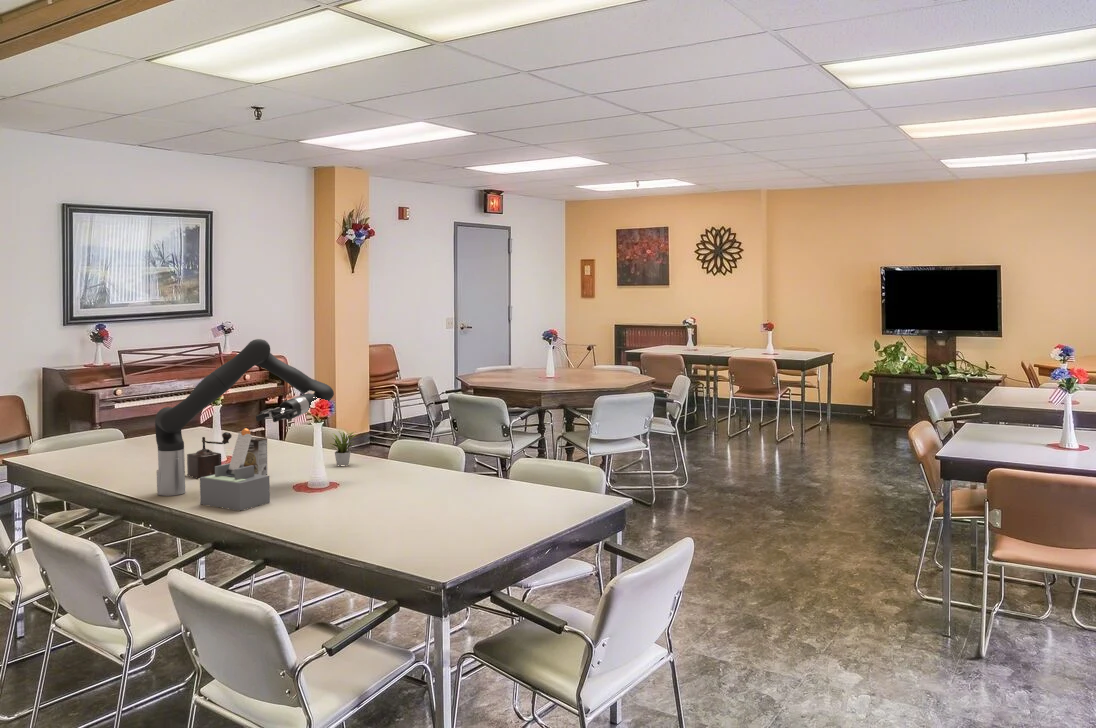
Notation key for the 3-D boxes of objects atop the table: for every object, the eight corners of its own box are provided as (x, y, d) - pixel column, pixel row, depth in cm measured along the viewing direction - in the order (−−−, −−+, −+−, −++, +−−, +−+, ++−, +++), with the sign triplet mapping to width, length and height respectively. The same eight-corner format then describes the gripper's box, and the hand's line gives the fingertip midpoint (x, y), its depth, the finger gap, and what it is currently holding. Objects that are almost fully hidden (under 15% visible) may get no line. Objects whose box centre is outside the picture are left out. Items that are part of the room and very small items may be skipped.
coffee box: (240, 476, 344) (239, 438, 343) (250, 473, 350) (249, 436, 349) (258, 477, 341) (257, 439, 340) (268, 474, 347) (267, 437, 346)
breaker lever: (236, 475, 294) (249, 428, 298) (224, 474, 296) (237, 426, 301) (242, 477, 296) (255, 430, 301) (231, 475, 299) (244, 429, 304)
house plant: (366, 462, 374) (365, 427, 373) (356, 468, 360) (355, 432, 359) (336, 461, 375) (335, 426, 374) (325, 467, 362) (324, 431, 360)
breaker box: (240, 511, 287) (239, 472, 286) (200, 504, 296) (199, 466, 295) (269, 502, 299) (269, 465, 298) (231, 496, 308) (230, 460, 307)
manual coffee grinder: (199, 479, 337) (198, 436, 336) (186, 475, 344) (185, 433, 343) (234, 473, 349) (233, 432, 348) (221, 469, 356) (220, 429, 355)
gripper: (279, 397, 325) (249, 409, 311) (307, 398, 319) (277, 410, 305) (282, 415, 327) (252, 427, 313) (309, 417, 321) (280, 429, 307)
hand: (265, 419), depth 309 cm, fingers open, 8 cm apart
